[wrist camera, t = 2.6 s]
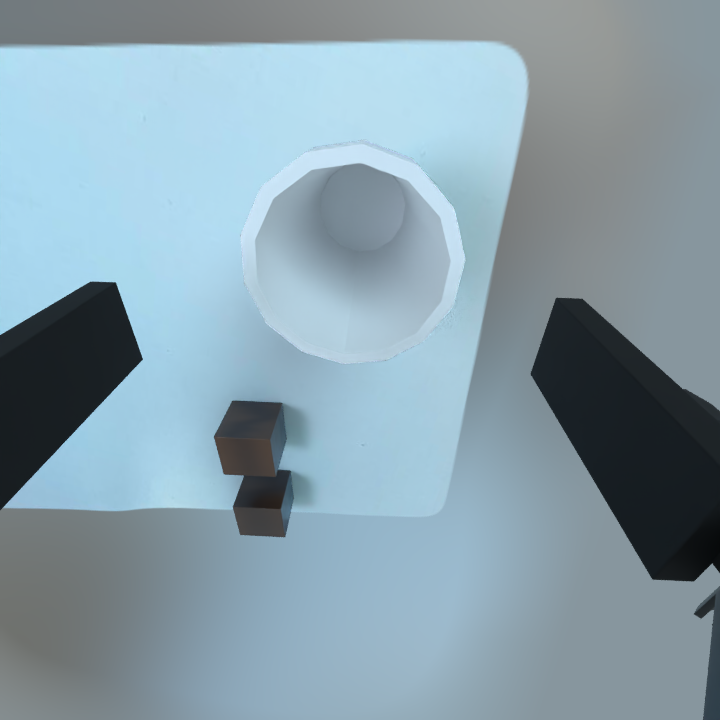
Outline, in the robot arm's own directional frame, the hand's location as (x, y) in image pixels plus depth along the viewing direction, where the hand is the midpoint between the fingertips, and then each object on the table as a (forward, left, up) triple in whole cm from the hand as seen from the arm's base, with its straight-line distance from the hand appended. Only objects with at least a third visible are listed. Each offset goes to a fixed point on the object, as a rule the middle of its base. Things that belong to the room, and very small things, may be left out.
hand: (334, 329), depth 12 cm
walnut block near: (+10, +21, -18) cm, 29 cm away
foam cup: (0, 0, -18) cm, 18 cm away
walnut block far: (+10, +31, -18) cm, 37 cm away
